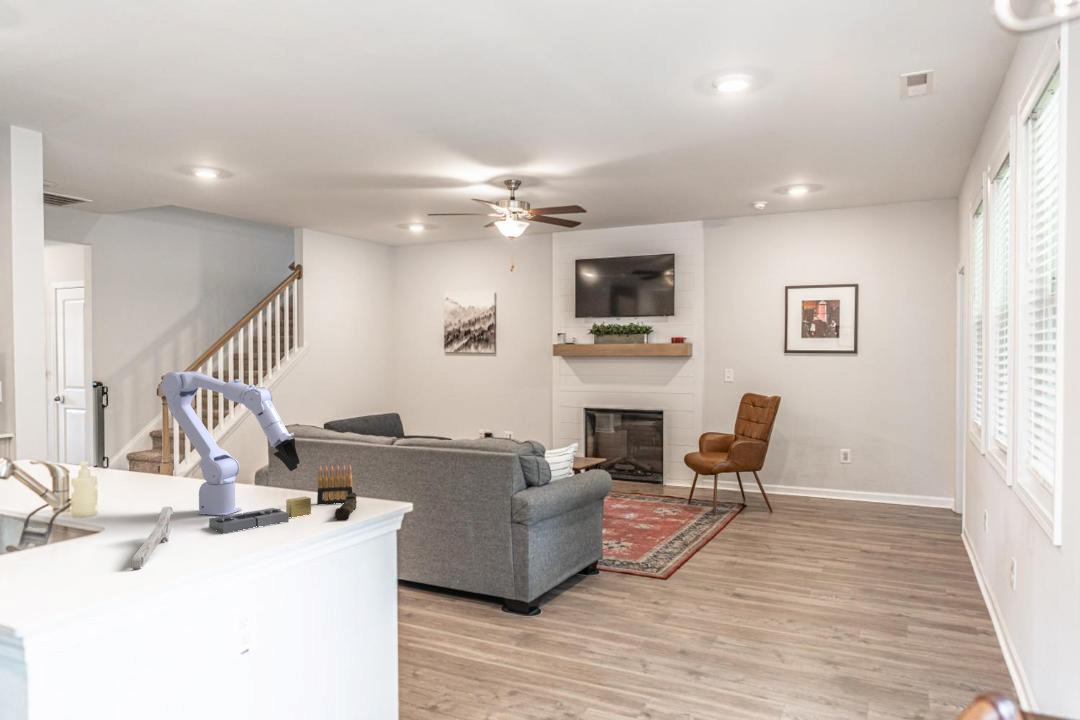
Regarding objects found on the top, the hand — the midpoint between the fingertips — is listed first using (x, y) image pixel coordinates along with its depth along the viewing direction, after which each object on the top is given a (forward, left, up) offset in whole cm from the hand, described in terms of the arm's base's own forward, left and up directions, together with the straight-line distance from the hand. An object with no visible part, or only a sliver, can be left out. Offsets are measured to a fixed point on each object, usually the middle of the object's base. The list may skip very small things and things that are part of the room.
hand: (295, 467), depth 215 cm
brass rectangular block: (+1, +1, -14) cm, 14 cm away
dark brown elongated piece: (+12, +7, -15) cm, 20 cm away
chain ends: (-7, -12, -14) cm, 20 cm away
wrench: (-13, -40, -14) cm, 44 cm away
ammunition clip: (+2, +18, -14) cm, 23 cm away
